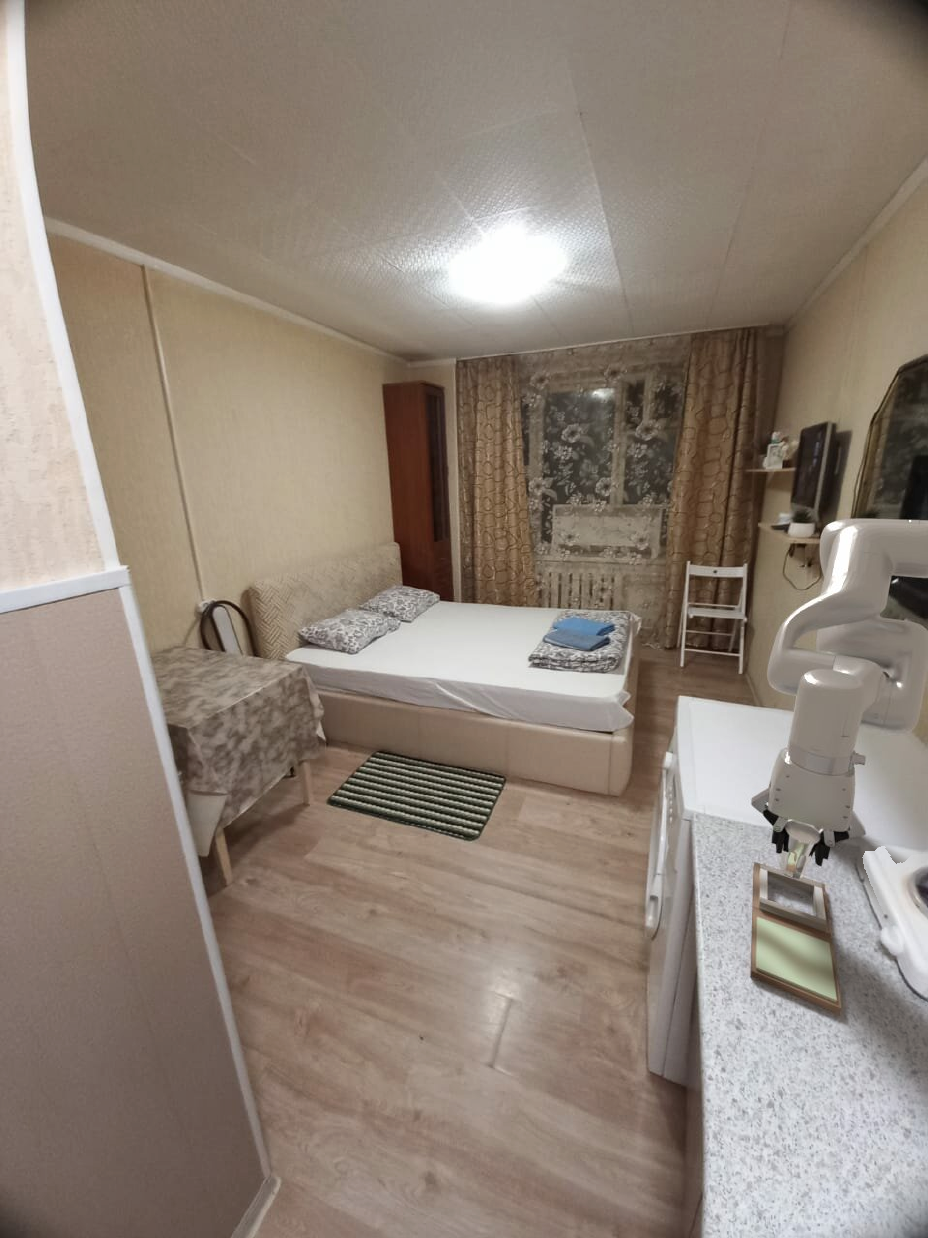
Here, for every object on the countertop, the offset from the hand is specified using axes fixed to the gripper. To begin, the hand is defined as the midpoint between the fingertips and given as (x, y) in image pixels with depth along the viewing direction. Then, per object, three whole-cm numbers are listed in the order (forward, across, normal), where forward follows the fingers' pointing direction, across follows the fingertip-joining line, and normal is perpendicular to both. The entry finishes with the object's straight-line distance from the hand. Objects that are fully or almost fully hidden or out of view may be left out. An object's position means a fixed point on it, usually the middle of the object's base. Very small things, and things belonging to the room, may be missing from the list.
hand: (797, 852), depth 76 cm
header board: (+9, 0, +6) cm, 11 cm away
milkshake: (+4, 0, 0) cm, 4 cm away
